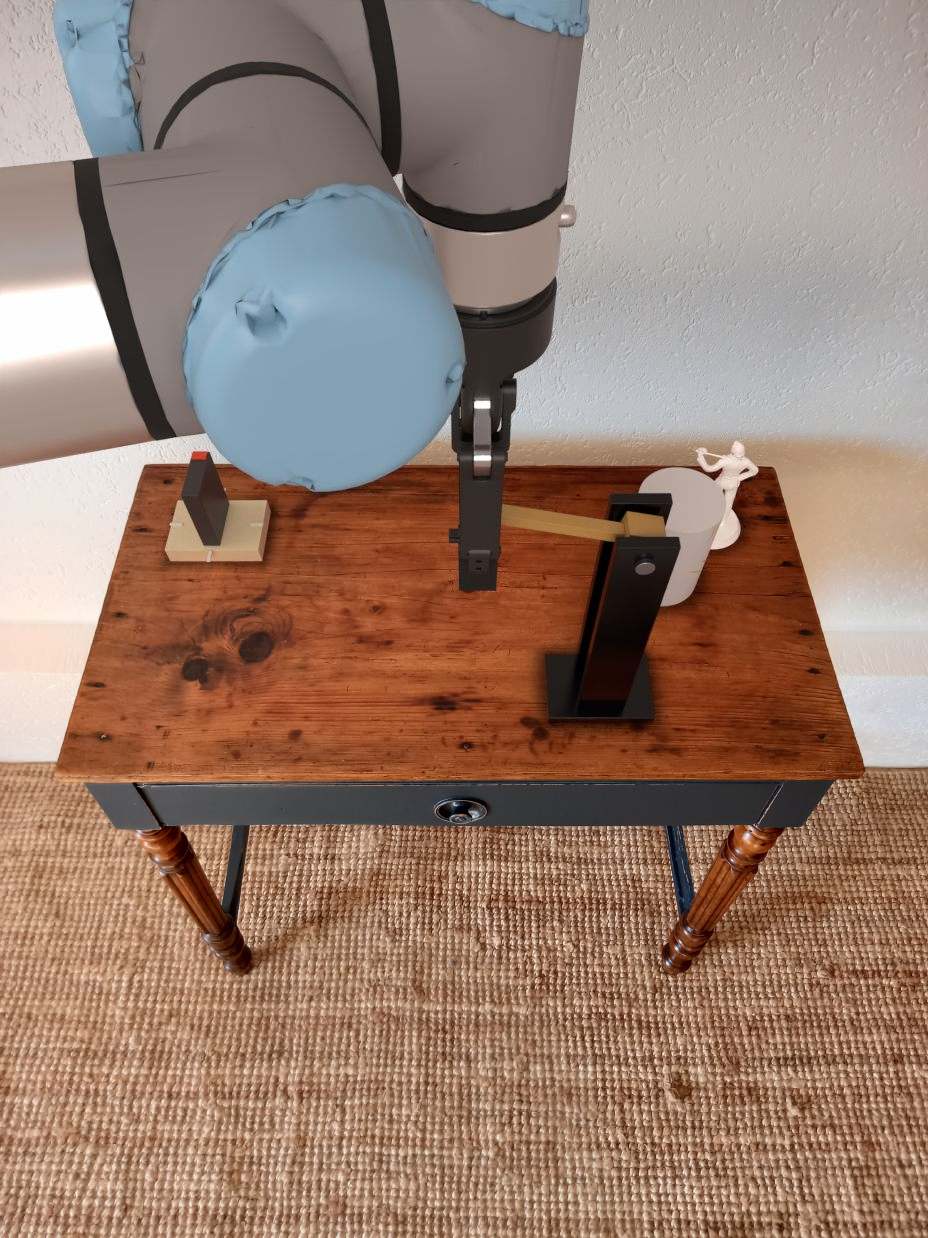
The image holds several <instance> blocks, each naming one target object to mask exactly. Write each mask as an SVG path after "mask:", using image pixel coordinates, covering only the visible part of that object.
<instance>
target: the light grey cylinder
mask: <svg viewBox="0 0 928 1238" xmlns="http://www.w3.org/2000/svg"><path fill="white" fill-rule="evenodd" d="M638 493H671V495H672V500H673V505H672V508H671V511H670V514H669V517H668V520H667V524H666V527H665V531H666V536H667V537H679V539H680V545H681V549H680V552H679V555H678V558H677V560H676V563H675V566H674V569H673V572H672V575H671V577H670V580H669V583H668V586H667V589H666V592H665V594H664V597H663V600H662V603H661V606H660V607H669V606H675V605H678V604H680V603H682V602H683V601H686V599H688V598H689V597H690V596H691V595H692V594H693V592H694V591H695V587H696V585H697V583H698V580H699V578H700V575H701V573H702V570H703V568H704V566H705V563H706V561H707V558H708V556H709V553H710V551H711V549H710V548H711V546H712V543H713V541H714V538H715V536H716V533H717V531H718V529H719V526H720V524H721V521H722V519H723V516H724V514H725V511H726V499H725V495H724V494H725V492H724V490H723V491H722V489H721V488H720V487H719V485H718V484H717V483H716V482H715V480H714V479H712V478H711V477H710V476H708V475H706V474H704V473H703V472H700V471H698V470H695V469H692V468H687V467H677V466H673V467H666V468H662V469H659V470H657V471H654V472H652V473H650V475H647V477H646V478H645V479H644V480H643V482H642V483H641V485H640V488H639V489H638Z"/></svg>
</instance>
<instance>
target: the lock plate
mask: <svg viewBox="0 0 928 1238" xmlns="http://www.w3.org/2000/svg"><path fill="white" fill-rule="evenodd" d="M223 488H224V487H223ZM224 490H225V493H226V492H227V488H226V487H225V488H224ZM226 494H227V493H226ZM228 501H229V508H228V512H227V517H226V521H225V526H224V530H223V534H222V539H221V543H220V546H204V545H203V543H202V541H201V539H200V537H199V535H198V532H197V530H196V528H195V526H194V524H193V522H192V519H191V517H190V515H189V513H188V511H187V508H186V506H185V504H184V502H183V500H182V499H180V500H179V499H178V500H177V502H176V505H175V509H174V513H173V517H172V521H171V522H169V526H170V528H169V532H168V536H167V540H166V543H165V547H164V552H165V553H166V555H167V557H168V559H169V561H170V562H206V563H211V562H263V559H264V553H265V549H266V541H267V536H268V531H269V525H270V520H271V514H272V510H271V508H270V505H269V504H270V503H269V502H268V500H267V499H256V500H255V499H230V500H229V499H228Z"/></svg>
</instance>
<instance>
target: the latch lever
mask: <svg viewBox="0 0 928 1238" xmlns="http://www.w3.org/2000/svg"><path fill="white" fill-rule="evenodd" d="M501 526H504V527H505V526H506V527H511V528H512V527H513V528H517V529H518V528H519V529H526V530H532V531H533V530H534V531H538V532H545V533H552V534H558V535H563V536H564V535H565V536H571V537H579V538H585V539H591V540H597V541H600V540H604V541H611V542H615V538H616V537H667V536H666V531H665V525H664V519H663V517H662V516H656V515H649V514H643V513H637V512H631V511H627V512H626V514H625V515H624V517H623V519H622V520H621V522H614V521H608V520H605V519H602V518H594V517H589V516H581V515H575V514H569V513H562V512H556V511H551V510H550V511H549V510H543V509H537V508H531V507H523V506H518V505H513V504H505V503H502V515H501Z"/></svg>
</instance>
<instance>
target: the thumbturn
mask: <svg viewBox="0 0 928 1238" xmlns="http://www.w3.org/2000/svg"><path fill="white" fill-rule="evenodd" d="M180 498H181V500H183V502H184V504H185V506H186V508H187V511H188V513H189V515H190V517H191V519H192V522H193V524H194V526H195V528H196V530H197V532H198V535H199V537H200V539H201V541H202V543H203V545H204V546H220V543H221V539H222V534H223V530H224V526H225V521H226V517H227V512H228V508H229V501H228V500H229V498H228V495H227V493H225V490H224V485H223V482H222V480H221V477H220V475H219V472H218V469H217V467H216V464H215V462H214V459H213V456H212V453H211V452H210V451H207V450H193V451H192V452H191V456H190V459H189V463H188V467H187V471H186V474H185V478H184V482H183V485H182V489H181V493H180Z"/></svg>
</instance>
